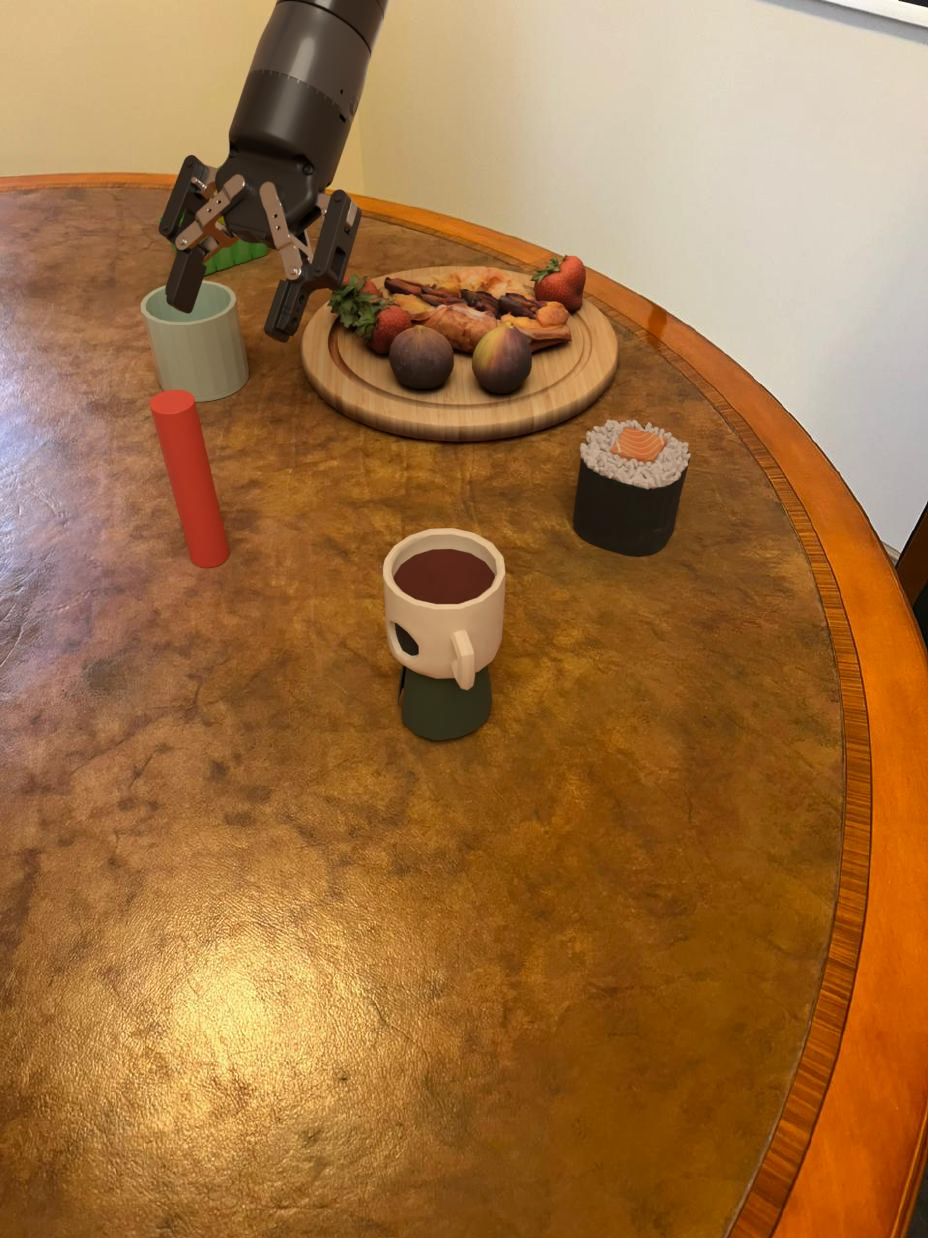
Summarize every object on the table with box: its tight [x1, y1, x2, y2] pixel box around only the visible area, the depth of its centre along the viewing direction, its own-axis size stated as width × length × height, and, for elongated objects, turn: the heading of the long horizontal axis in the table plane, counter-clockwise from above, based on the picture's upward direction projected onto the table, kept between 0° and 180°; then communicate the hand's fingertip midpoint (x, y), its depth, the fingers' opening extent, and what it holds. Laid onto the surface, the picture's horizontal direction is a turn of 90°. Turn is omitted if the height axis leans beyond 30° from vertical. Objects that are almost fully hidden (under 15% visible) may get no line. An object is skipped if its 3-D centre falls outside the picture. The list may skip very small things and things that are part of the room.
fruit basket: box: [157, 165, 269, 277], centre depth 106 cm, size 11×9×11 cm
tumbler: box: [139, 280, 250, 403], centre depth 89 cm, size 9×9×8 cm
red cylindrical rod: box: [149, 390, 230, 569], centre depth 68 cm, size 3×3×14 cm
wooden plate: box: [299, 254, 621, 443], centre depth 92 cm, size 32×32×8 cm
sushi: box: [572, 419, 692, 558], centre depth 74 cm, size 8×8×8 cm
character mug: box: [382, 527, 507, 742], centre depth 58 cm, size 11×7×13 cm, turn 15°
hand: (225, 323), depth 65 cm, fingers open, 8 cm apart
